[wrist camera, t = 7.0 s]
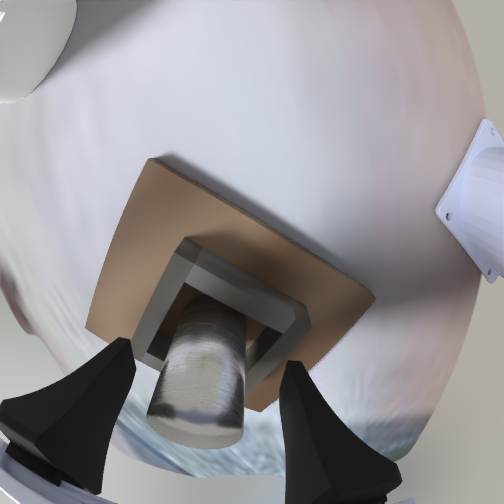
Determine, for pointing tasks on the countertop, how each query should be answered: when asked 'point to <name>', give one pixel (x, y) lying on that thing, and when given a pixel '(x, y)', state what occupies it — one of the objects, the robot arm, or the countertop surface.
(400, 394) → the countertop surface
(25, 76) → the cylinder with rectangular tab
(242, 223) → the dock
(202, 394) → the clear glass cylinder
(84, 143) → the countertop surface
